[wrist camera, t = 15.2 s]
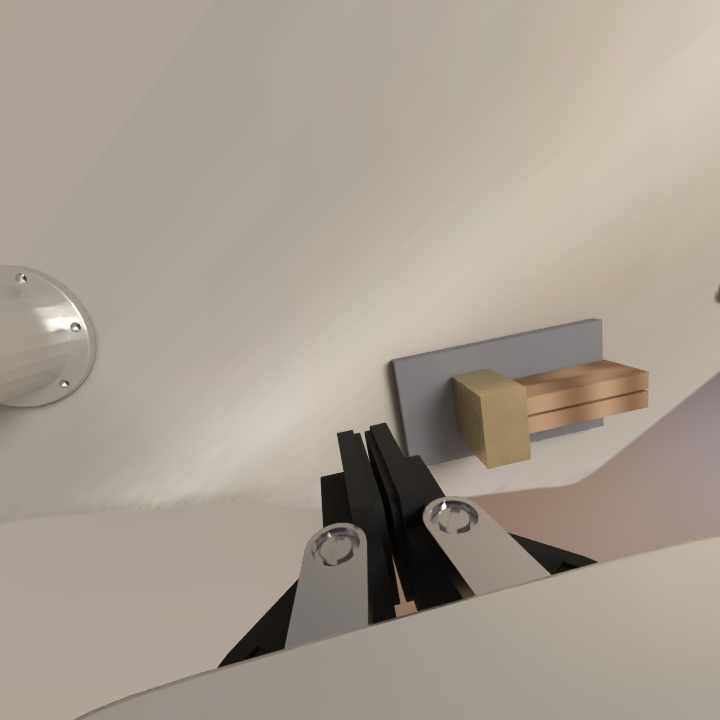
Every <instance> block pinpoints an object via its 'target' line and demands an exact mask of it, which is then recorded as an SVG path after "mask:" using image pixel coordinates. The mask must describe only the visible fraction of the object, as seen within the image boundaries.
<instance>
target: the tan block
mask: <svg viewBox="0 0 720 720" xmlns="http://www.w3.org/2000/svg"><path fill="white" fill-rule="evenodd" d="M453 386H454V394H455V402H456V410H457V418H458V426H459V434H460V438H461V439H462V440H463V441H464V443H465V444H466V445H467V446H468V447H469V448H470V449H471V450H472V452H473V453H474V454H475V455H476V456H477V457H478V458H479V460H480V461H481V462H482V463H483V464H484V465H485V466H486V467H487V469H489V468H494V467H498V466H502V465H507V464H511V463H516V462H520V461H524V460H529V459H531V453H530V439H529V425H528V410H527V396H526V387H525V386H523V385H521V384H519V383H517V382H515V381H513V380H511V379H509V378H507V377H505V376H503V375H502V374H500V373H498V372H496V371H494V370H492V369H486V370H482V371H477V372H472V373H467V374H463V375H458V376H453Z"/></svg>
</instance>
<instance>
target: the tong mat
mask: <svg viewBox="0 0 720 720" xmlns="http://www.w3.org/2000/svg"><path fill="white" fill-rule="evenodd" d="M602 360H603V357H602V320H601V319H594V318H593V319H588V320H583V321H578V322H573V323H568V324H564V325H559V326H554V327H549V328H544V329H539V330H534V331H530V332H525V333H520V334H515V335H510V336H505V337H500V338H496V339H491V340H486V341H481V342H476V343H471V344H466V345H462V346H457V347H452V348H447V349H442V350H437V351H432V352H428V353H423V354H418V355H413V356H408V357H403V358H398V359H394V360H392V363H393V369H394V375H395V381H396V387H397V393H398V399H399V405H400V411H401V417H402V423H403V429H404V435H405V442H406V448H407V454H408V457H411V456H415V455H419V456H420V457H421V458H422V460H423V461H424V463H425V465H426V466H428V465H432V464H437V463H441V462H445V461H450V460H454V459H459V458H463V457H468V456H472V455H475V454H474V453H473V452H472V450H471V449H470V448H469V447H468V446H467V445H466V444H465V443H464V441H463V440H462V439H461V438H460V434H459V426H458V418H457V410H456V402H455V394H454V386H453V376H458V375H463V374H467V373H472V372H477V371H482V370H486V369H492V370H494V371H496V372H498V373H500V374H502V375H503V376H505V377H507V378H509V379H511V380H513V379H518V378H522V377H527V376H532V375H536V374H541V373H546V372H550V371H555V370H560V369H564V368H569V367H574V366H578V365H583V364H588V363H592V362H597V361H602ZM600 426H603V417H602V418H597V419H593V420H588V421H584V422H580V423H575V424H571V425H566V426H562V427H557V428H553V429H548V430H544V431H540V432H535V433H531V434H529V439H530V442H534V441H538V440H542V439H547V438H551V437H556V436H560V435H564V434H569V433H573V432H578V431H582V430H587V429H591V428H595V427H600Z"/></svg>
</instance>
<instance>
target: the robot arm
mask: <svg viewBox="0 0 720 720" xmlns="http://www.w3.org/2000/svg"><path fill="white" fill-rule="evenodd" d="M80 326H81V327H80ZM95 351H96V344H95V335H94V331H93V328H92V325H91V322H90V320H89V318H88V316H87V314H86V312H85V310H84V309H83V307H82V306H81V305H80V303H79V302H78V301H77V300H76V298H75V297H74V296H73V295H72V294H71V293H70V292H68V291H67V290H66V289H65V288H64V287H63V286H62V285H60V284H58V283H57V282H55V281H54V280H52V279H51V278H49V277H47V276H45V275H43V274H40V273H38V272H36V271H33V270H29V269H26V268H22V267H16V266H4V265H0V404H3V405H8V406H13V407H34V406H41V405H45V404H48V403H51V402H54V401H57V400H59V399H61V398H63V397H65V396H67V395H69V394H70V393H72V392H73V391H75V390H76V389H77V388H78V387H79V386H80V385H81V384H82V383H83V382H84V381H85V379H86V378H87V376H88V374H89V373H90V371H91V369H92V366H93V363H94V360H95ZM337 437H338V442H339V448H340V453H341V459H342V465H343V470H344V472H341V473H336V474H332V475H328V476H323V477H321V496H322V512H323V529H320V530H319V531H318V532H317V533H315V534H314V535H313V536H312V537H311V539H310V540H309V541H308V543H307V545H306V548H305V551H304V556H303V561H302V566H301V571H300V576H299V579H298V580H297V581H296V582H295V583H294V584H293V585H292V586H291V587H290V588H289V589H288V590H287V592H286V593H285V594H284V595H283V596H282V597H281V598H280V599H279V600H278V601H277V602H276V603H275V604H274V606H272V607H271V609H270V610H269V611H268V612H267V613H266V614H265V615H264V616H263V617H262V618H261V619H260V620H259V621H258V622H257V623H256V624H255V626H254V627H253V628H252V629H251V630H250V631H249V632H248V633H247V634H246V635H245V636H244V637H243V638H242V639H241V640H240V641H239V643H238V644H237V645H236V646H235V647H234V648H233V649H232V650H231V651H230V652H229V653H228V654H227V656H226V657H225V658H224V660H223V661H222V662H221V664H220V665H219V666H218V668H216V669H213V670H209V671H206V672H202V673H199V674H195V675H192V676H189V677H186V678H183V679H180V680H177V681H174V682H171V683H168V684H165V685H161V686H158V687H155V688H153V689H149V690H146V691H143V692H140V693H137V694H134V695H130V696H128V697H125V698H123V699H120V700H117V701H115V702H113V703H110V704H108V705H105V706H103V707H100V708H98V709H95V710H93V711H90V712H88V713H86V714H84V715H82V716H80V717H78V718H76V719H74V720H720V534H719V535H712V536H704V537H700V538H695V539H691V540H687V541H682V542H678V543H673V544H669V545H665V546H660V547H656V548H652V549H647V550H643V551H640V552H636V553H633V554H629V555H625V556H621V557H617V558H614V559H610V560H606V561H602V562H597V561H594V560H592V559H590V558H587V557H584V556H582V555H578V554H575V553H572V552H569V551H565V550H562V549H559V548H556V547H553V546H549V545H546V544H543V543H540V542H536V541H533V540H530V539H527V538H524V537H520V536H517V535H514V534H511V533H507V532H506V531H505V530H504V529H503V528H502V527H501V526H500V525H499V524H498V523H497V522H496V521H495V520H494V519H493V518H492V517H490V516H489V515H488V514H487V513H486V512H485V511H484V510H483V509H482V508H481V507H480V506H479V505H478V504H476V503H475V502H473V501H471V500H469V499H466V498H462V497H457V496H450V497H446V496H445V495H444V493H443V492H442V490H441V488H440V487H439V485H438V484H437V482H436V480H435V479H434V477H433V476H432V474H431V473H430V471H429V469H428V468H427V466H426V465H425V463H424V461H423V460H422V458H421V457H420V456H419V455H415V456H411V457H406V458H404V456H403V454H402V452H401V450H400V448H399V446H398V445H397V443H396V441H395V439H394V437H393V435H392V433H391V432H390V430H389V428H388V426H387V424H386V423H382V424H377V425H373V426H370V431H365V438H366V444H367V449H368V455H369V459H368V456H367V453H366V450H365V447H364V444H363V441H362V438H361V435H360V433H356V434H354V433H353V430H350V431H345V432H341V433H337ZM369 461H370V462H369ZM392 556H393V558H392ZM393 559H394V562H395V566H396V569H397V573H398V576H399V579H400V583H401V586H402V589H403V592H404V596H405V599H406V601H407V602H409V601H413V600H414V602H415V605H416V608H417V611H418V612H414V613H411V614H407V615H404V616H400V617H396V613H395V607H394V606H395V605H398V604H400V598H399V593H398V587H397V582H396V576H395V570H394V564H393Z"/></svg>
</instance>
